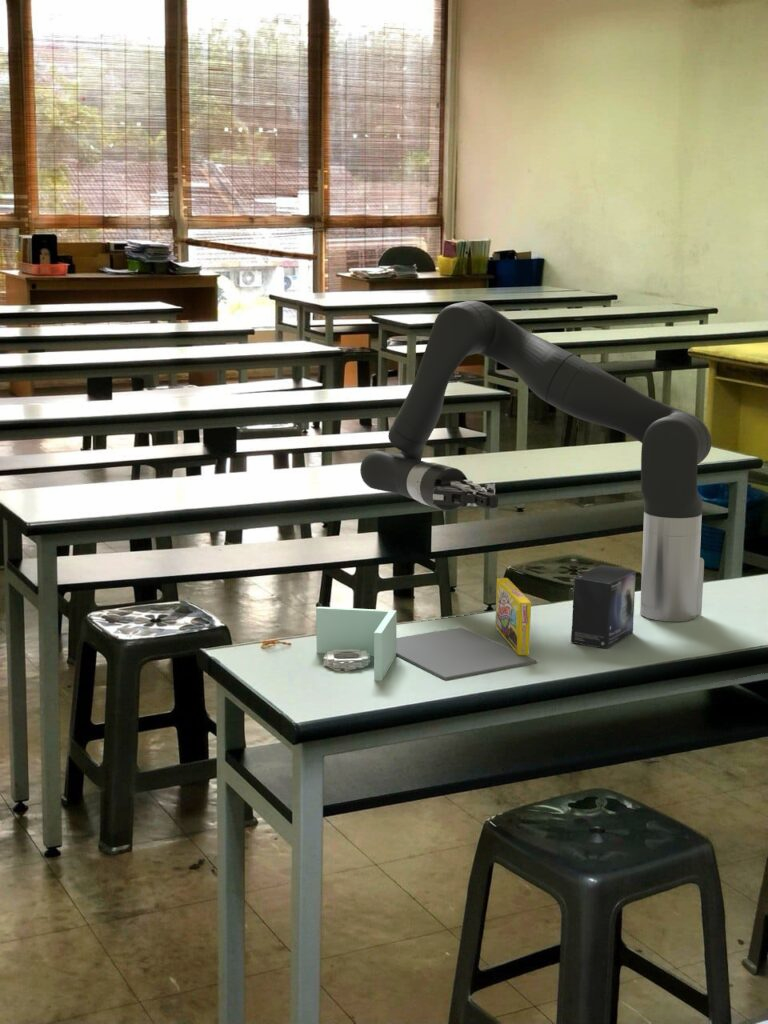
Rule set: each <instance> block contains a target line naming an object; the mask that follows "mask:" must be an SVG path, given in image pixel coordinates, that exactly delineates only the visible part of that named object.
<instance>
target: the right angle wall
mask: <svg viewBox="0 0 768 1024" xmlns="http://www.w3.org/2000/svg"><path fill="white" fill-rule="evenodd" d="M315 610H316V611H315V618H316V620H315V622H316V625H315V626H316V627H315V629H316V653H317V654H324V657H323V663H322V665H323V666H324V667H327V668H330V669H332V670H334V671H337V672H339V671H344V672H348V671H352V670H357V669H364V668H365V667H366V668H367V667H369V665H370V663H371V657H373V659H374V660H373V663H374V664H373V667H374V668H373V676H374V677H373V678H374V679H373V680H374V681H380V682H381V681H383V679H384V678H385V676H386V674H387V673H388V670H389V668H390V667H391V665H392V664H393V662H394V660H395V659H396V657H397V656H396V638H397V609H396V610H395V609H394V610H392V609H376V608H375V609H373V608H372V609H371V608H369V609H368V608H355V607H354V608H353V607H351V608H350V607H333V606H332V607H331V606H316V608H315Z"/></svg>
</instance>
